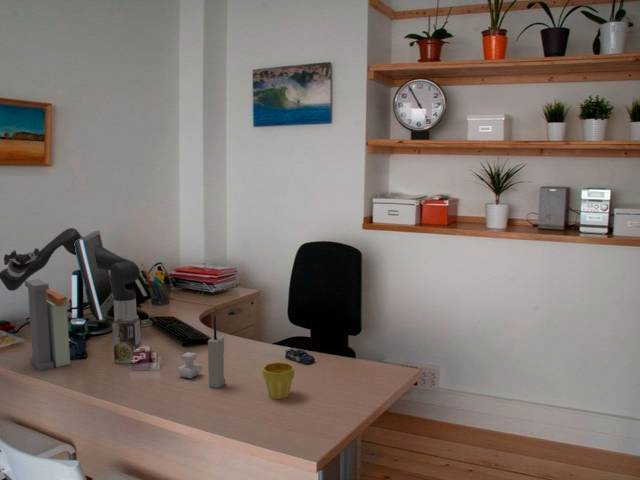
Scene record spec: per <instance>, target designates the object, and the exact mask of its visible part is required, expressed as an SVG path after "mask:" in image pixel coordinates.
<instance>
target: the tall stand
mask: <svg viewBox="0 0 640 480" xmlns="http://www.w3.org/2000/svg"><path fill="white" fill-rule="evenodd" d="M24 286H25V287H26V288H27V291H28V292H27V293H28V294H27V295H28V307H29V320H30V321H29V323H30V336H31V350H32V353H31V354H32V356H30V357H29V362H30V364H31V365H33V366H34V367H35V368H36V369H37V370H39V371H45V370H49V369H54V367H55V365H54V363H53V362H52V361H51V360H50V347H49V332H48V316H47V300H46V290H48V289H49V288H50V286H49V283H47V282H46V281H44V280H41V279H40V278H36V279H30V280H29V279H27V280H26V281H25V282H24Z"/></svg>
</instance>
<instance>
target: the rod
mask: <svg viewBox="0 0 640 480" xmlns="http://www.w3.org/2000/svg"><path fill="white" fill-rule="evenodd" d="M46 299H47V300H48V301H50V302H52V303H54V304H55V305H57V306H65V305H67V306H68V297H67V296H66V295H63V294H62V293H60V292H58V291H56V290H53V289H52V288H50V287H49V289H48V290H46Z"/></svg>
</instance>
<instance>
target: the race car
mask: <svg viewBox="0 0 640 480" xmlns="http://www.w3.org/2000/svg"><path fill="white" fill-rule="evenodd" d="M284 357H285V359H287V360H288V361H293V362H296V363H300V364H302V365H307V366H309V365H310V367H313V366H314V364H313V363H314V362H316V361H315V360H316V359H315V357H314V356H313V355H311V354H309V353H308V352H306V351H305V350H303V349H300V348H296V349H294V348H292V347H291V348H289V349H286V350H285V355H284Z"/></svg>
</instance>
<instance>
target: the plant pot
mask: <svg viewBox="0 0 640 480" xmlns="http://www.w3.org/2000/svg"><path fill="white" fill-rule="evenodd" d="M262 377H263V379H264V380H265V384H266V387H267V388H266V389H267V393H268V397H270V398H272V399H274V400H283V399H287V398H288V397H289V396H290V395H289V394H290V392H291V387H292V382H293V379H294V378H295V365H293V364H292V363H290V362H289V363H288V362H283V361H276V362H275V361H274V362H270V363H267V364H265V365H264V366H263V367H262Z"/></svg>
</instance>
